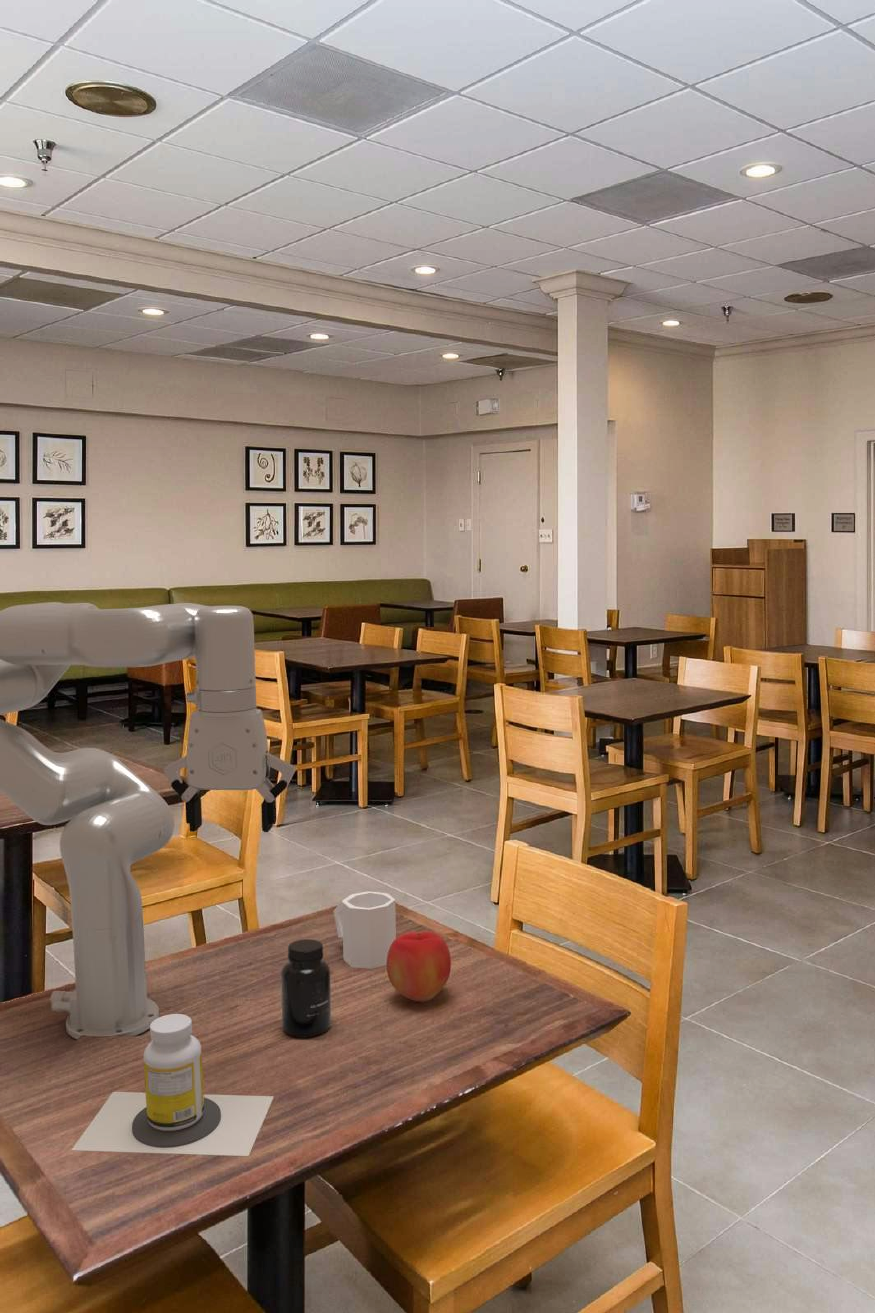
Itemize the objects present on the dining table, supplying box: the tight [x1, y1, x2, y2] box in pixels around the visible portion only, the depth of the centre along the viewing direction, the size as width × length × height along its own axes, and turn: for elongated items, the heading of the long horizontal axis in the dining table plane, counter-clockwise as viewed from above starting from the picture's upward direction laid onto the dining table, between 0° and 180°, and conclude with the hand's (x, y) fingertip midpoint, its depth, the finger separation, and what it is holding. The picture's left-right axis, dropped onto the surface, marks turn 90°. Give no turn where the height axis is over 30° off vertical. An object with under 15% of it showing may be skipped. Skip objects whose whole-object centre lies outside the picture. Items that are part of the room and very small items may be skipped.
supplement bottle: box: [280, 938, 332, 1038], centre depth 143 cm, size 7×7×12 cm
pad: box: [132, 1097, 221, 1148], centre depth 119 cm, size 10×10×1 cm
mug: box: [333, 891, 397, 970], centre depth 168 cm, size 12×9×10 cm
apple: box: [386, 931, 452, 1003], centre depth 152 cm, size 10×10×10 cm
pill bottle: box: [143, 1013, 205, 1131], centre depth 118 cm, size 6×6×12 cm
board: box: [71, 1091, 275, 1157], centre depth 119 cm, size 20×12×1 cm, turn 86°
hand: (231, 829), depth 135 cm, fingers open, 9 cm apart
